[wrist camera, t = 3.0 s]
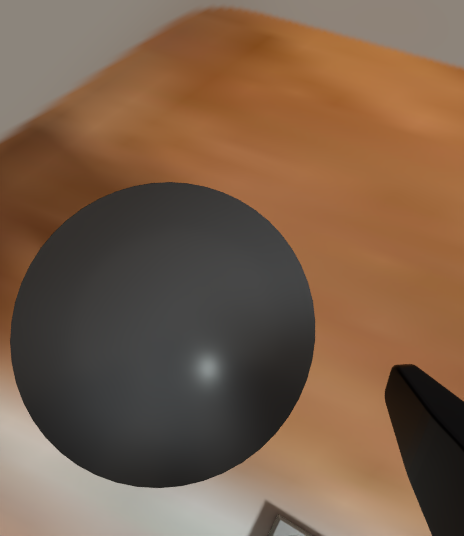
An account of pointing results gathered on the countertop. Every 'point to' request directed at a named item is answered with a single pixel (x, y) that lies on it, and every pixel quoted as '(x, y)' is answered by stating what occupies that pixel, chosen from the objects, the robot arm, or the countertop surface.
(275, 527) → the label plate
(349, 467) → the countertop surface
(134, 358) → the post
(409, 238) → the countertop surface
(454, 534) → the robot arm
